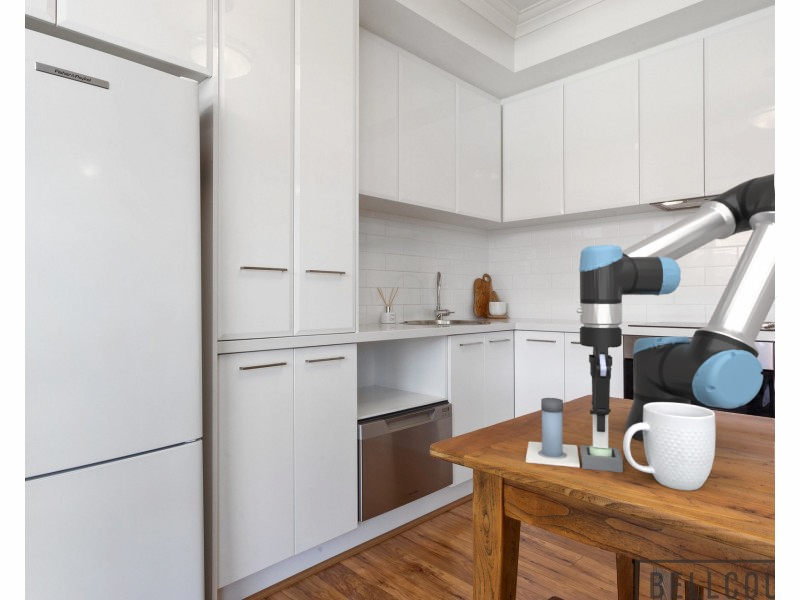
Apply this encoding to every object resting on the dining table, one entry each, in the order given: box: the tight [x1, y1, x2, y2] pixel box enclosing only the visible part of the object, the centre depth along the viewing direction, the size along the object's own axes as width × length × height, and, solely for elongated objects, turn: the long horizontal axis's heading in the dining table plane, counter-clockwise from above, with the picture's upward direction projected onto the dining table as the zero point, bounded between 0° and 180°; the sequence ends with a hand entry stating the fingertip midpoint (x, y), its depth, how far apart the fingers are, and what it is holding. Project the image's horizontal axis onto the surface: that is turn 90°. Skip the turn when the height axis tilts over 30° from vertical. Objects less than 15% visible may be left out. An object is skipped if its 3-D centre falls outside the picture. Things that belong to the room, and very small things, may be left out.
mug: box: [622, 402, 717, 491], centre depth 85 cm, size 15×11×13 cm
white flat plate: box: [525, 440, 581, 468], centre depth 100 cm, size 10×12×1 cm
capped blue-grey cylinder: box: [540, 397, 564, 457], centre depth 99 cm, size 4×4×11 cm
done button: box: [589, 444, 613, 457], centre depth 95 cm, size 4×4×3 cm
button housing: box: [580, 444, 624, 474], centre depth 95 cm, size 7×7×2 cm
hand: (600, 446), depth 95 cm, fingers closed
